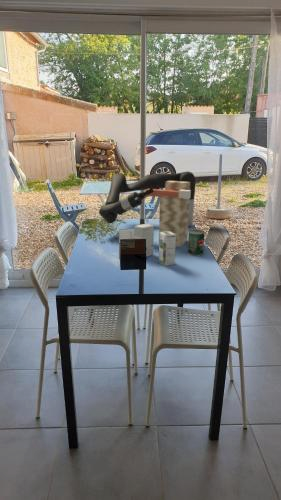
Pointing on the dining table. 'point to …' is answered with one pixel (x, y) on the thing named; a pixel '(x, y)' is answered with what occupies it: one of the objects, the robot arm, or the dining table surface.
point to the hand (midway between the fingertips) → (155, 188)
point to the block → (171, 193)
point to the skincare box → (146, 236)
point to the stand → (175, 212)
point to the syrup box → (167, 248)
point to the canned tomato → (196, 242)
